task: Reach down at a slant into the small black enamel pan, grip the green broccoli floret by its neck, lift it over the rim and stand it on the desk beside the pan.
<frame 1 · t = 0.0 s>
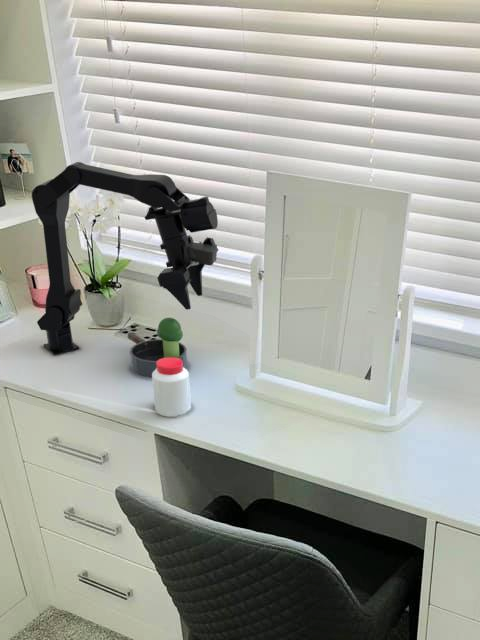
hand: (194, 302, 183), 15 cm above the table, tool pointing down, fingers open, 9 cm apart
pill bottle: (173, 409, 171), on the table
broccoli: (172, 368, 187), resting on pan
pan: (159, 367, 188), on the table
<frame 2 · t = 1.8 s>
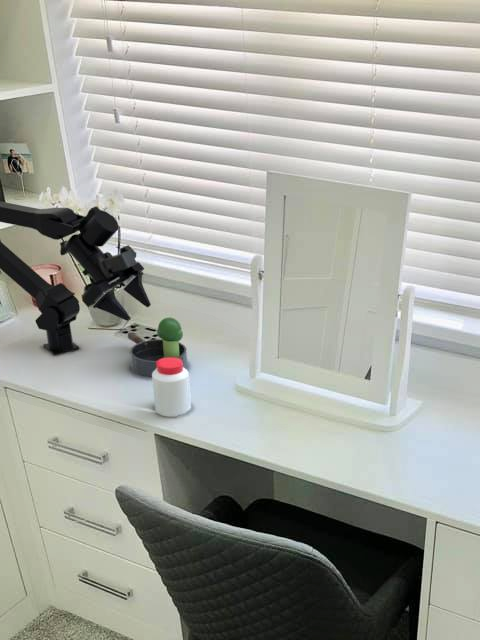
hand: (139, 312, 181), 13 cm above the table, tool tilted 45°, fingers open, 9 cm apart
nothing on the table moved.
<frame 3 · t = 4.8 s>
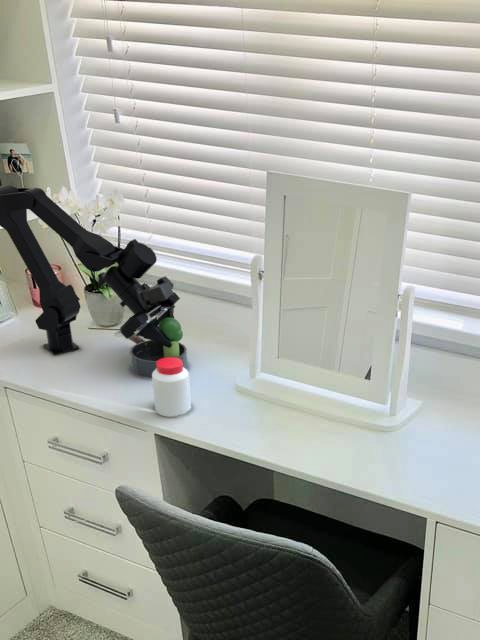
hand: (176, 342, 183), 7 cm above the table, tool tilted 45°, fingers closed on broccoli, 4 cm apart
broccoli: (172, 368, 187), point 1 cm above the table, touching gripper, pan
everything else where it was.
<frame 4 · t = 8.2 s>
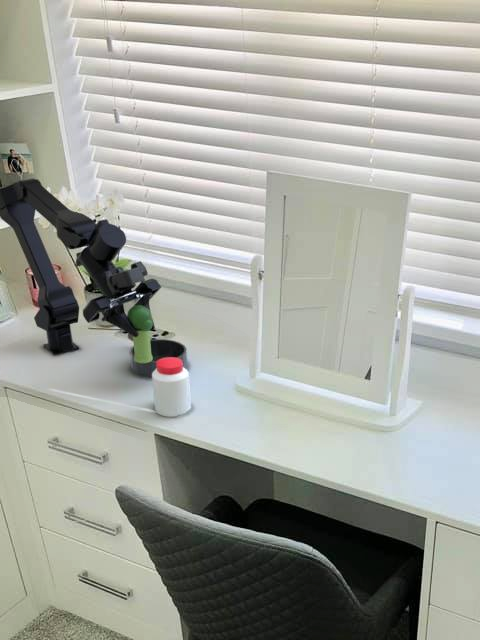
hand: (145, 332, 171), 13 cm above the table, tool tilted 45°, fingers closed on broccoli, 4 cm apart
broccoli: (143, 359, 176), point 7 cm above the table, touching gripper
everything else where it was.
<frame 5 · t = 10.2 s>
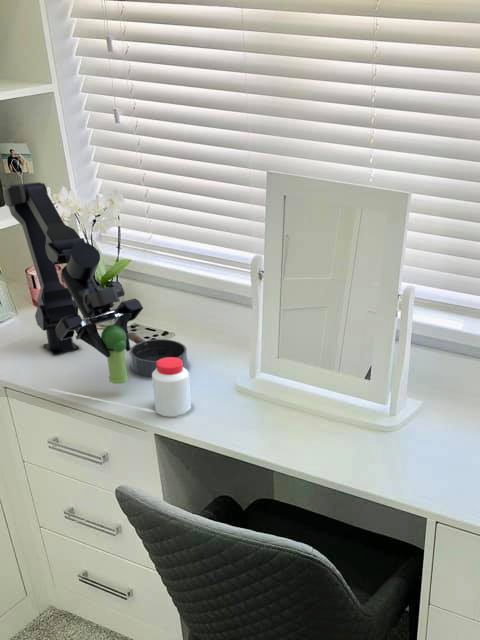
hand: (119, 353, 168), 11 cm above the table, tool tilted 45°, fingers closed on broccoli, 4 cm apart
broccoli: (118, 379, 173), point 4 cm above the table, touching gripper
everything else where it was.
when the fingers open (7 cm above the table, at t = 11.7 s): broccoli stays where it is, on the table.
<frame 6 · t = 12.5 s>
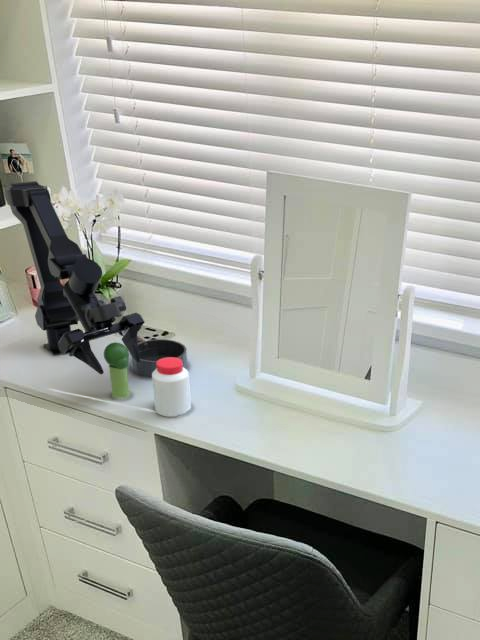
hand: (120, 367, 170), 7 cm above the table, tool tilted 45°, fingers open, 9 cm apart
broccoli: (121, 395, 175), on the table
everything else where it was.
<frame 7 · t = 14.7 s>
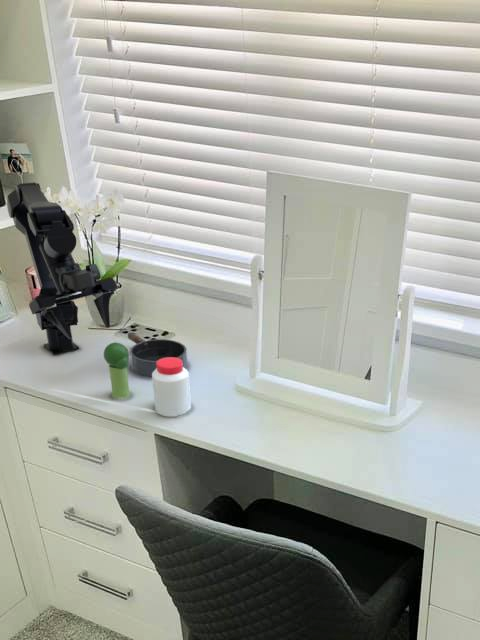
hand: (89, 332, 173), 12 cm above the table, tool tilted 30°, fingers open, 9 cm apart
nothing on the table moved.
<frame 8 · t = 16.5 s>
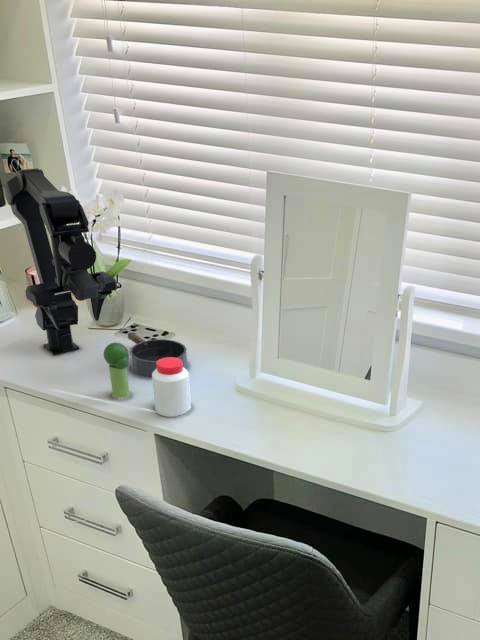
hand: (77, 324, 176), 12 cm above the table, tool pointing down, fingers open, 9 cm apart
nothing on the table moved.
at the end: broccoli inside the target area (0.2 cm from its centre), on the table; broccoli touching table; the gripper is holding nothing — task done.
